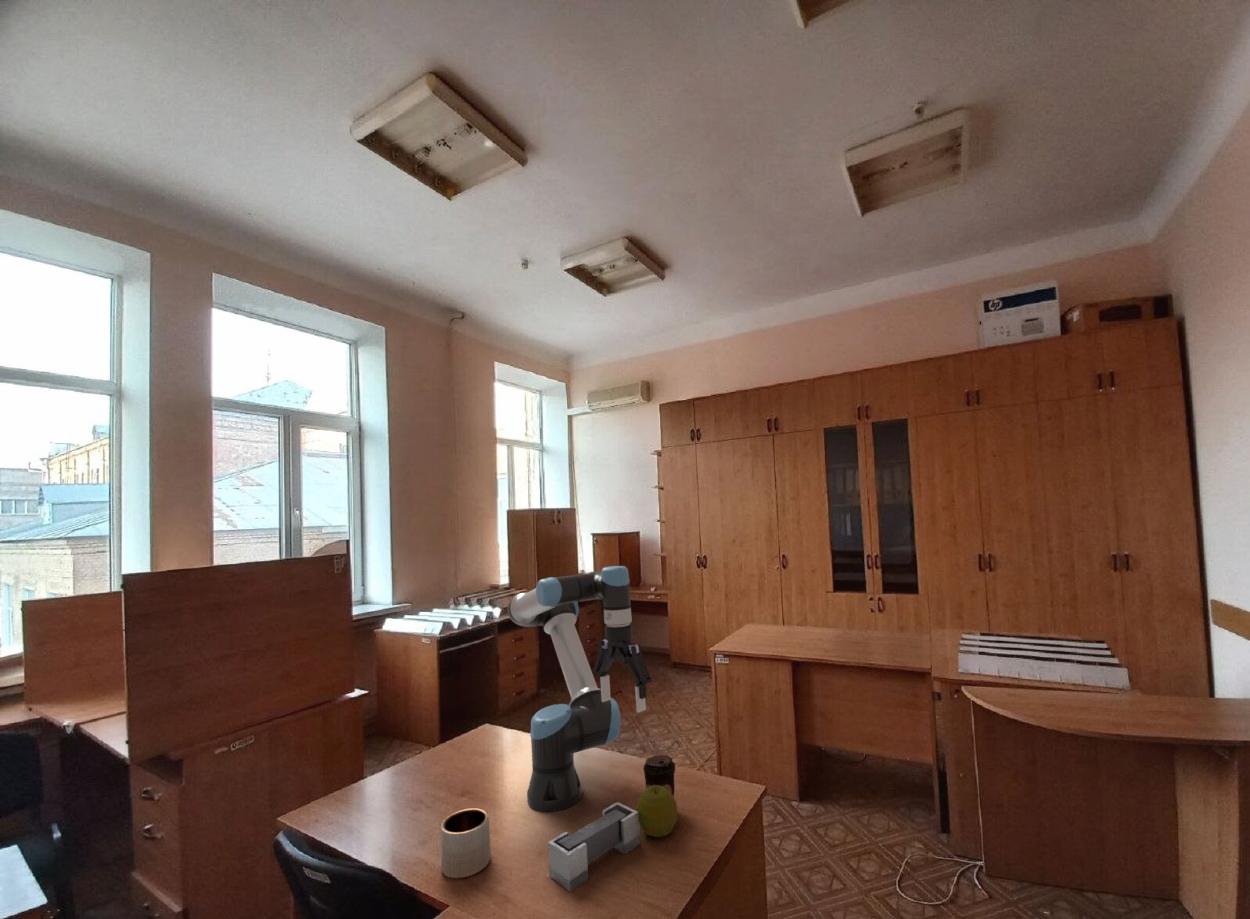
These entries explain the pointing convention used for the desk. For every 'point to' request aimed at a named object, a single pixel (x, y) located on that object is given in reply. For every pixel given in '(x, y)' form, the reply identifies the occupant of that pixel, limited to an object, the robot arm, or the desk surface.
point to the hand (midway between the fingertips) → (623, 705)
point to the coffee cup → (660, 772)
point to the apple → (657, 811)
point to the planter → (465, 842)
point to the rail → (597, 835)
